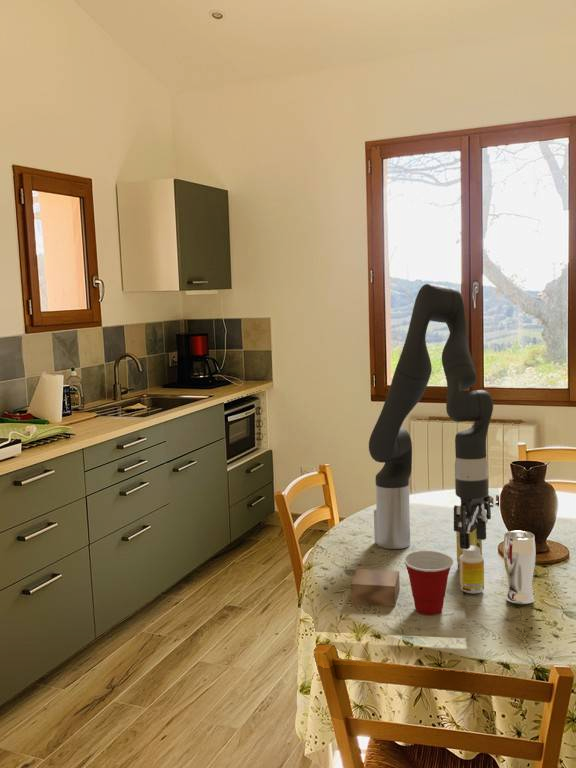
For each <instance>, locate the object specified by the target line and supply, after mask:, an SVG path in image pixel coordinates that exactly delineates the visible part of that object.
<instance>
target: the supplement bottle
mask: <svg viewBox="0 0 576 768" xmlns="http://www.w3.org/2000/svg"><path fill="white" fill-rule="evenodd" d="M484 559H485V557H484V556H483V554H482V555H480V548H479V547H477V546H470V548H469V549H463V554H462V555H461V556H460V558H459V563H460V570H459V588H460V591H462V592H464V593H467V594H479V593H482V592H484V590H485V573H484V572H485V569H484V568H485V567H484V566H485V563H484Z"/></svg>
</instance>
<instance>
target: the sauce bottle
mask: <svg viewBox="0 0 576 768" xmlns="http://www.w3.org/2000/svg"><path fill="white" fill-rule="evenodd" d="M459 499H460V500H461V498H460V497H459ZM477 523H478V522H476V520H475V521H474V524H473V525H471V528H470V531H469V533H470V546H477V547H479V548H480V555H482V556H483V544H482V543H483V542H482V541H483V540H481V539H477V537H476V524H477ZM458 526H459V522H458ZM466 526H467V524H466ZM455 532H456V531H455ZM455 535H456V562H457V569H458V570H459V571H460V563H459V558H460V556H461V555H462V554H463V549H462V548H460V534H459V532H456V534H455Z"/></svg>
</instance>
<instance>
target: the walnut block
mask: <svg viewBox="0 0 576 768" xmlns="http://www.w3.org/2000/svg"><path fill="white" fill-rule="evenodd" d="M400 591H401V590H400V571H399V570H388V569H387V570H383V569H367V568H366V569H365V568H364V569H363V568H362V569H361V568H357V569H356V571H355V574H354V576H353V578H352V580H351V583H350V595H351V596H350V597H351V598H350V599H351V605H361V606H362V605H364V606H380V607H396V605H397V601H398V598H399V595H400Z"/></svg>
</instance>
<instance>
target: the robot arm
mask: <svg viewBox="0 0 576 768" xmlns="http://www.w3.org/2000/svg"><path fill="white" fill-rule="evenodd" d="M464 304H465V303H464V298H463V296H462V293H461V291H459V290H458V289H457V288H454V287H452V286H451V287H450V286H446V285H442V284H441V285H439V284H434V283H425V284H424V285H422V286H421V287H420V289H419V290H418V292H417V295H416V297H415V301H414V305H413V308H412V313H411V317H410V322H409V326H408V330H407V334H406V337H405V340H404V342H403V343H404V344H403V347H402V350H401V353H400V356H399V359H398V361H397V364H396V367H395V370H394V372H393V377H392V379H391V383H390V387H389V389H388V391H387V396H386V398H385V401H384V404H383V406H382V410H381V411H380V414H379V416H378V418H377V420H376V422H375V425H374V427H373V429H372V431H371V434H370V437H369V440H368V451H369V455H370V456H371V458H372V459H373V460H374V461H375V462H377V463H384V465H383V466H382V468H381V469H380V470H379V471H378V472H377V473H376V475H375V503H376V505H375V509H374V510H373V522H374V523H373V528H374V530H373V531H374V533H373V535H374V544H376V545H377V546H378V547H379V548H382V549H387V550H388V549H389V550H400V549H405V548H408V547H410V545H411V518H410V517H411V515H410V514H411V513H410V478H411V475H412V471H413V470H412V468H413V465H412V463H413V442H412V438H411V435H410V433H409V432H408V430H407V429H406V428H404V427H402V425H403V423H404V421H405V419H406V418H407V417H408V415H409V414H410V413H411V412H412V410H413V409H414V408H415V406H417V404H418V403H419V402H420V401H421V399H422V397H423V395H424V394H425V391H426V390H427V386H428V384H429V381H430V378H431V375H432V369H433V367H432V362H431V358H430V355H429V350H428V347H427V342H426V341H427V340H426V337H427V330H428V326H429V324H430V322H436V323H437V322H438V323H441V324H442V323H444V324H446V326H447V328H448V331H449V332H448V333H449V335H448V338H447V340H446V342H445V345H444V347H443V349H442V352H441V363H442V368H443V372H444V376H445V379H446V389H447V391H446V392H447V393H446V395H447V397H446V402H445V403H446V406H445V407H446V408H445V409H446V414H447V415H448V417H449V419H451V420H452V421H454V422H457V423H458V422H461V423H462V422H473V424H472V426H471V427H470V428H468V429H465V430H462V431H459V432H456V434H455V436H454V446H455V447H454V449H455V460H454V461H455V462H454V481H455V482H454V483H455V485H454V486H455V491H454V492H455V496H456V497H458V498H459V499H460V498H461V499H460V505H457V504H454V506H453V531H454V532H459V534H460V548H462V549H469V548H470V533H469V531H470V528H471V525H473V524H474V521H475V520H476V522H478V523H477V524H476V537H477V539H481V540H482V541H484V540H486V539H487V524H488V520H491V518H492V516H491V515H492V513H491V506H490V495H489V491H490V490H489V465H488V458H487V457H488V456H487V436H488V432H489V426H490V422H491V419H492V416H493V411H494V400H493V397H492V396H491V394H490V393H489V392H488V391H487V390H483V389H479V390H478V389H477V390H475V389H474V390H468V389H470V388H472V387H474V385H475V384H476V383H477V379H478V378H477V377H478V376H477V372H476V369H475V366H474V361H473V359H472V356H471V352H470V348H469V341H468V331H467V330H468V329H467V321H466V311H465V305H464ZM458 522H459V526H458ZM466 524H467V526H466Z"/></svg>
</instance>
